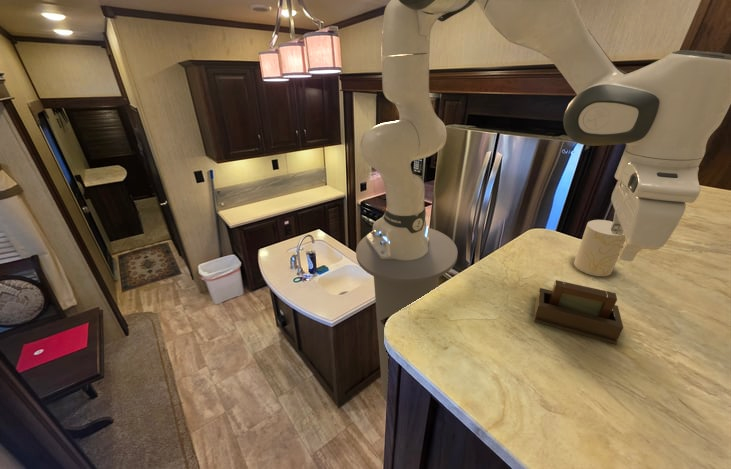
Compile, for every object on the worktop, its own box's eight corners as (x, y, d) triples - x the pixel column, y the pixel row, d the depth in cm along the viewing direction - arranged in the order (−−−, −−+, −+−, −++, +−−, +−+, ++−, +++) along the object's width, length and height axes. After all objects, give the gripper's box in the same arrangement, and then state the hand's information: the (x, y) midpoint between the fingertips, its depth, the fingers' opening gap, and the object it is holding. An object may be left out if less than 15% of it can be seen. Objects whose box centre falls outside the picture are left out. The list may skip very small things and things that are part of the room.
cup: (579, 274, 74) (594, 233, 68) (570, 257, 81) (582, 218, 75) (617, 278, 72) (635, 236, 66) (604, 259, 79) (619, 220, 73)
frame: (546, 308, 64) (555, 279, 60) (602, 322, 60) (615, 293, 56) (546, 314, 63) (555, 285, 59) (603, 329, 58) (617, 299, 54)
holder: (535, 299, 68) (539, 285, 66) (610, 318, 61) (617, 303, 59) (534, 321, 62) (538, 307, 60) (616, 344, 55) (624, 329, 53)
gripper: (617, 152, 55) (593, 217, 61) (641, 190, 39) (605, 271, 46) (662, 155, 52) (631, 223, 59) (706, 196, 37) (657, 281, 43)
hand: (620, 244), depth 52 cm, fingers open, 8 cm apart
